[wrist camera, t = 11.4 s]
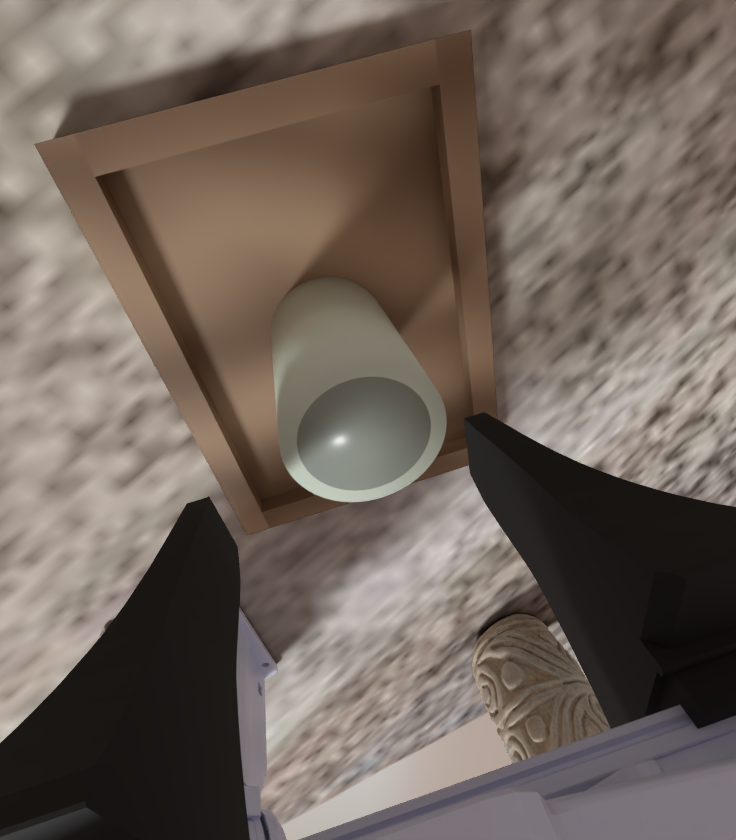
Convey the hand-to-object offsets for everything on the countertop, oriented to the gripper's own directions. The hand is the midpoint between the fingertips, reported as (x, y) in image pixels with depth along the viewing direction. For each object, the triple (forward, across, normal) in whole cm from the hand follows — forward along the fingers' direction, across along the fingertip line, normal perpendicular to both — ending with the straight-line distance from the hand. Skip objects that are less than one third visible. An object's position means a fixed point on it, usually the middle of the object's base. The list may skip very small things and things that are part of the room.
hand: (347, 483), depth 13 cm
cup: (+9, -1, 0) cm, 9 cm away
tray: (+10, -1, 0) cm, 10 cm away
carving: (+10, -8, +29) cm, 31 cm away
